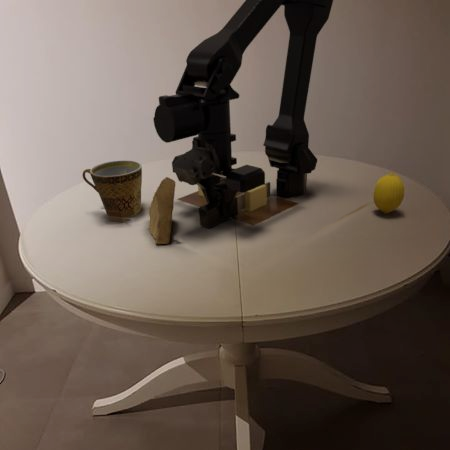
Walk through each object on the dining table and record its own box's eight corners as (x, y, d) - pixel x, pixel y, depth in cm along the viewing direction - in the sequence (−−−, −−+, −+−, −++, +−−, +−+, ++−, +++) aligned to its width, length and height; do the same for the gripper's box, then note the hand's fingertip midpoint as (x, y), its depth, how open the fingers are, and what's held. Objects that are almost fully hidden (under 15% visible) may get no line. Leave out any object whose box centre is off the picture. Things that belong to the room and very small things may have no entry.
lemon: (367, 209, 94) (372, 169, 89) (394, 207, 94) (400, 167, 89) (376, 220, 89) (382, 179, 85) (405, 217, 89) (412, 176, 85)
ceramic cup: (156, 208, 99) (150, 161, 94) (134, 228, 91) (125, 177, 86) (103, 203, 103) (94, 158, 98) (77, 222, 95) (66, 173, 90)
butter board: (222, 185, 109) (222, 181, 109) (298, 207, 96) (299, 203, 95) (177, 203, 101) (176, 199, 101) (253, 230, 88) (253, 225, 87)
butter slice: (261, 202, 97) (261, 183, 94) (266, 204, 96) (266, 185, 93) (244, 210, 94) (244, 190, 91) (250, 211, 93) (250, 192, 91)
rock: (179, 237, 81) (200, 208, 88) (145, 199, 78) (169, 173, 85) (143, 261, 88) (165, 233, 95) (110, 228, 85) (135, 201, 92)
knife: (208, 228, 87) (207, 210, 85) (200, 225, 88) (198, 207, 86) (274, 197, 97) (274, 180, 96) (265, 194, 99) (265, 178, 97)
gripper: (143, 132, 82) (155, 215, 90) (218, 149, 70) (223, 243, 79) (191, 119, 88) (197, 198, 96) (267, 134, 77) (266, 222, 85)
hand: (219, 214), depth 89 cm, fingers closed on knife, 2 cm apart
